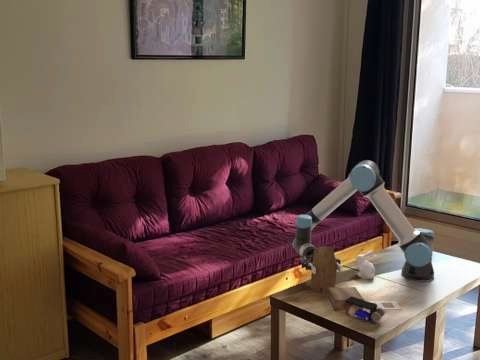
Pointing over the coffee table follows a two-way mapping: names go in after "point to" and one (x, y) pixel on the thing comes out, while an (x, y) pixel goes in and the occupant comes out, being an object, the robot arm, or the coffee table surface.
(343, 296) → the tower base
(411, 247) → the robot arm
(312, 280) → the block
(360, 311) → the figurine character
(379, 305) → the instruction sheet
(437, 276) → the coffee table surface
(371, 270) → the rabbit
